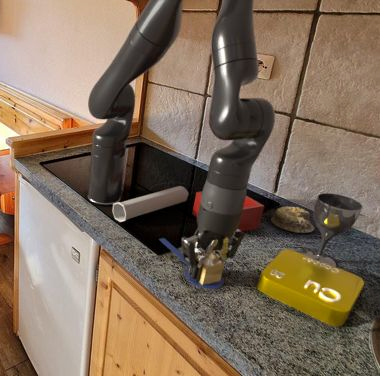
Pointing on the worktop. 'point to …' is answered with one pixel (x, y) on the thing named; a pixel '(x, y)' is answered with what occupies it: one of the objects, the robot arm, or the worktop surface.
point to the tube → (149, 203)
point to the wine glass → (333, 220)
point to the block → (211, 270)
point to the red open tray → (248, 217)
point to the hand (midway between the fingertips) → (204, 276)
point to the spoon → (180, 255)
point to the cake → (292, 219)
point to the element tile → (311, 286)
